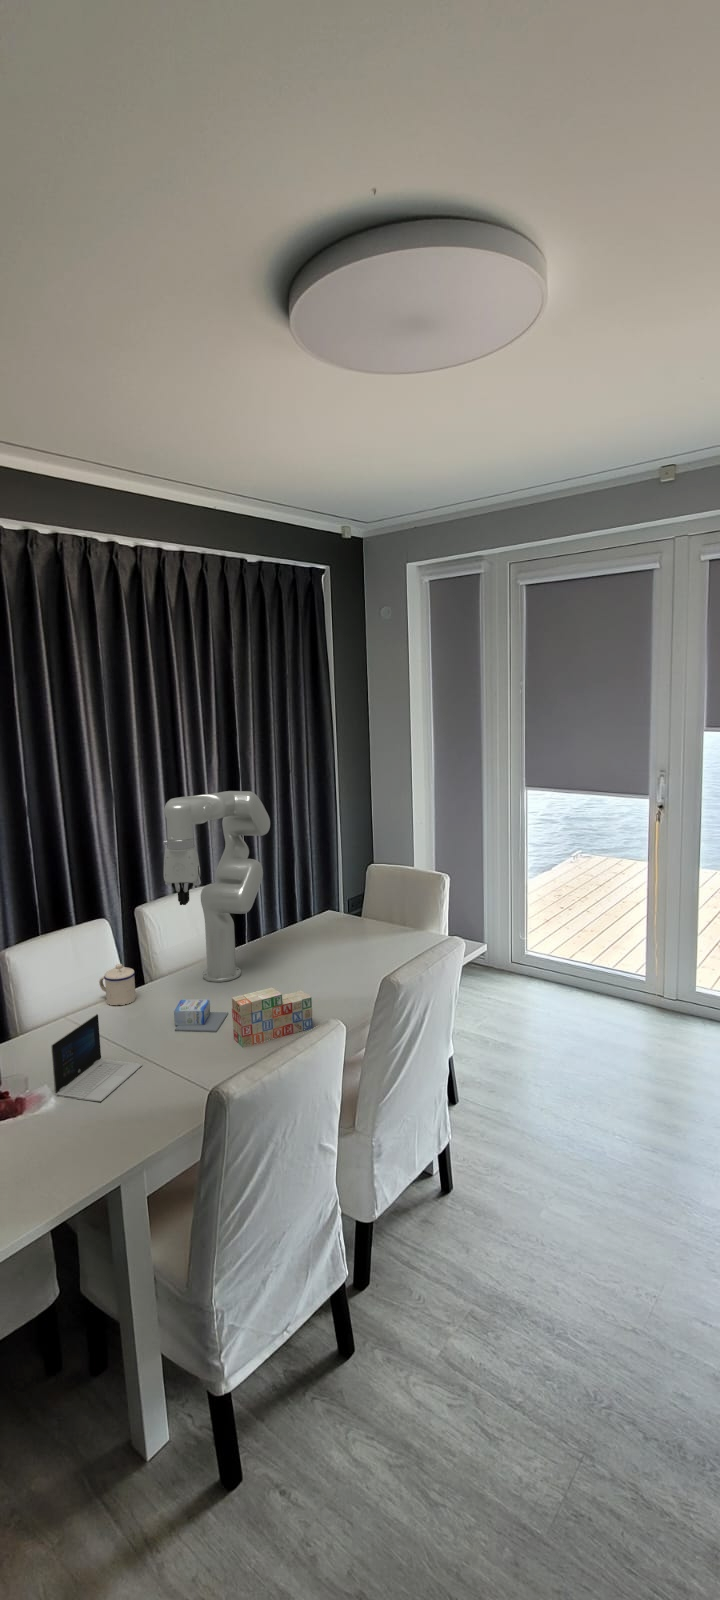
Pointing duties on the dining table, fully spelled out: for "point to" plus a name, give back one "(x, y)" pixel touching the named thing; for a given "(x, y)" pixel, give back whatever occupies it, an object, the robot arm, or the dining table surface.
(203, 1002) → the medicine box
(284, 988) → the dining table surface
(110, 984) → the teacup with lid
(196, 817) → the robot arm
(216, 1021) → the mat
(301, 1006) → the stack of blocks
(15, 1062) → the dining table surface
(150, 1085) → the dining table surface
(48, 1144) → the dining table surface
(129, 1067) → the laptop
